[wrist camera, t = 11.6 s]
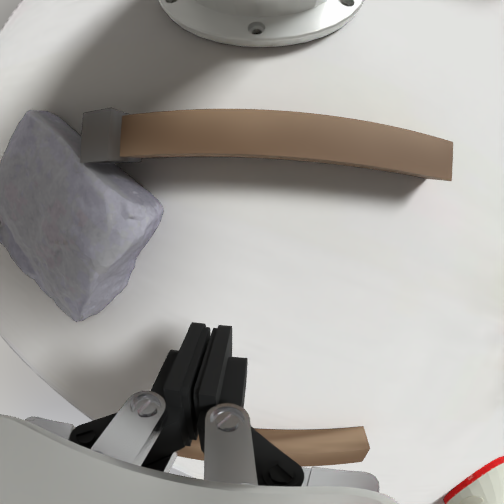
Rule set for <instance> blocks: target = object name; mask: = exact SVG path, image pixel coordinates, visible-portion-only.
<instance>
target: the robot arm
mask: <svg viewBox="0 0 504 504" xmlns="http://www.w3.org/2000/svg"><path fill="white" fill-rule="evenodd" d="M159 2H160V4H161V6H162V8H163V9H164V10H165V12H166V13H167V14H168V16H169V17H170V18H171V19H172V20H173V21H174V22H176V23H177V24H178V25H179V26H181V27H182V28H183V29H185V30H187V31H189V32H191V33H193V34H195V35H197V36H199V37H202V38H206V39H209V40H212V41H215V42H219V43H225V44H231V45H237V46H250V47H273V46H287V45H292V44H298V43H304V42H308V41H311V40H314V39H317V38H321V37H324V36H326V35H328V34H330V33H332V32H334V31H336V30H338V29H340V28H342V27H343V26H344V25H345V24H346V23H348V22H349V21H350V20H351V19H353V17H354V16H355V15H356V13H357V12H358V10H359V9H360V7H361V6H362V4H363V2H364V0H159ZM256 32H258V33H261V34H258V35H255V34H254V33H256ZM246 378H247V358H238V357H232V326H223V325H219V326H218V328H213V330H212V333H211V337H210V328H209V327H206V325H205V324H203V323H193V322H192V323H191V325H190V327H189V330H188V332H187V334H186V336H185V339H184V341H183V343H182V346H181V348H180V350H179V351H176V350H170V352H169V353H168V355H167V358H166V360H165V362H164V364H163V366H162V368H161V370H160V372H159V374H158V376H157V379H156V381H155V383H154V385H153V387H152V389H151V391H141V392H137V393H135V394H133V395H132V396H131V397H130V398H129V399H128V400H127V401H126V402H125V404H124V405H123V406H122V408H121V409H120V410H119V412H118V413H115V414H112V415H109V416H106V417H103V418H100V419H97V420H94V421H91V422H88V423H85V424H82V425H79V426H77V427H74V426H73V425H72V424H67V423H62V422H57V421H52V420H48V419H43V418H39V417H29V418H27V419H25V420H22V419H19V418H16V417H12V416H8V415H1V414H0V504H399V503H398V502H397V501H396V500H395V499H393V498H392V497H390V496H388V495H385V494H382V493H379V481H378V480H377V478H376V477H375V476H374V475H372V474H370V473H367V472H360V471H347V470H336V469H328V468H320V467H313V466H312V468H305V467H301V466H300V465H299V464H298V463H297V462H295V461H294V460H292V459H291V458H290V457H289V456H287V455H286V454H285V453H283V452H282V451H281V450H279V449H278V448H277V447H276V446H274V445H273V444H272V443H271V442H269V441H268V440H267V439H266V438H264V437H263V436H262V435H261V434H260V433H258V432H257V431H256V430H255V429H254V428H252V427H251V425H250V418H249V415H248V413H247V412H246V410H245V409H244V408H243V407H244V398H245V389H246ZM198 434H199V440H200V446H201V451H202V452H203V453H204V480H202V479H196V478H189V477H185V476H180V475H175V474H170V473H169V471H170V469H171V467H172V465H173V463H174V461H175V459H176V458H177V455H178V450H180V449H182V448H185V446H191V442H192V440H197V437H198Z"/></svg>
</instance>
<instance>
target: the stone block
mask: <svg viewBox="0 0 504 504" xmlns="http://www.w3.org/2000/svg"><path fill="white" fill-rule="evenodd" d="M80 157H81V136H80V135H79V134H78V133H77V132H75V131H74V130H73V129H72V128H71V127H70V126H69V125H68V124H66V123H65V122H64V121H63V120H62V119H61V118H59V117H58V116H56V115H54V114H52V113H50V112H48V111H37V110H29V111H27V112H26V113H25V115H24V117H23V118H22V120H21V121H20V122H19V124H18V125H17V127H16V129H15V132H14V133H13V135H12V137H11V139H10V141H9V144H8V147H7V149H6V151H5V153H4V155H3V157H2V160H1V163H0V243H1V244H3V245H4V246H5V247H6V249H7V250H8V252H9V254H10V256H11V258H12V259H13V261H14V262H15V263H16V264H17V266H18V267H19V268H20V269H21V270H22V271H23V272H24V273H25V274H27V275H28V276H29V277H30V278H32V279H34V280H35V281H36V283H37V284H38V285H39V287H40V288H41V289H42V290H43V291H44V292H45V293H46V294H47V295H48V296H49V297H50V298H52V299H53V300H54V301H55V303H56V305H57V306H58V307H59V308H60V309H61V310H62V311H63V312H64V313H66V314H67V315H68V316H69V317H71V318H72V319H73V320H74V321H76V322H78V321H82V320H84V319H86V318H87V317H90V316H92V315H95V314H97V313H98V312H100V311H101V310H102V309H104V308H105V306H106V305H108V304H109V303H110V302H111V301H112V300H113V298H114V297H115V296H116V295H117V294H118V293H120V292H121V291H122V290H123V288H124V287H125V286H127V283H128V280H129V277H130V274H131V272H132V269H134V267H135V260H136V257H137V256H138V254H139V253H140V251H141V250H142V249H143V248H144V247H145V245H146V243H148V241H149V239H150V238H151V236H152V235H153V233H154V232H155V230H156V228H157V227H158V224H159V223H160V221H161V218H162V215H163V206H162V204H161V203H160V202H159V200H158V199H157V198H155V197H154V196H153V195H152V194H151V193H150V192H149V191H147V190H146V189H145V188H144V187H142V186H141V185H140V184H138V183H137V182H136V181H135V180H133V179H132V178H131V177H130V176H129V175H128V174H126V173H125V172H124V171H123V170H121V169H120V168H119V167H118V166H116V165H115V164H114V163H80Z"/></svg>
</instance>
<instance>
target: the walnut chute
mask: <svg viewBox="0 0 504 504" xmlns="http://www.w3.org/2000/svg"><path fill="white" fill-rule="evenodd" d="M155 157H246V158H267V159H283V160H297V161H308V162H319V163H328V164H337V165H346V166H354V167H361V168H368V169H375V170H382V171H388V172H394V173H400V174H405V175H411V176H416V177H421V178H426V179H436V180H446V181H451V180H452V162H453V142H451V141H448V140H444V139H441V138H437V137H434V136H430V135H427V134H423V133H419V132H415V131H411V130H407V129H402V128H398V127H393V126H389V125H384V124H379V123H374V122H368V121H363V120H357V119H350V118H344V117H337V116H329V115H321V114H312V113H302V112H291V111H277V110H257V109H195V110H175V111H162V112H150V113H141V114H132V115H130V114H127V113H124V112H122V111H119V110H116V109H113V108H107V109H101V110H96V111H91V112H86V113H83V124H82V137H81V157H80V163H126V162H141V158H155ZM255 430H256V431H257V432H258V433H260V434H261V435H262V436H263V437H264V438H266V439H267V440H268V441H269V442H271V443H272V444H273V445H274V446H276V447H277V448H278V449H279V450H281V451H282V452H283V453H285V454H286V455H287V456H289V457H290V458H291V459H292V460H294V461H295V462H297V463H298V464H299V465H300V466H323V465H336V464H346V463H355V462H362V461H363V459H364V458H365V456H366V454H367V453H368V451H369V449H370V447H369V443H368V440H367V437H366V433H365V430H364V427H363V426H362V427H351V428H338V429H317V430H275V429H255ZM177 456H180V457H185V458H191V459H197V460H204V453H203V452H202V451H201V446H200V440H199V434H198V437H197V440H192V442H191V446H185V448H182V449H180V450H178V455H177Z"/></svg>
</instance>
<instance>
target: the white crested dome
mask: <svg viewBox="0 0 504 504" xmlns="http://www.w3.org/2000/svg"><path fill="white" fill-rule="evenodd" d="M443 500H444V503H445V504H504V456H503V457H499V458H497V459H495V460H493V461H492V462H490V463H489V464H487V465H485V466H484V467H482V468H481V469H479V470H478V471H476V472H475V473H473V474H472V475H471V476H469V477H468V478H466V479H465V480H464V481H462V482H461V483H460V484H458V485H457V486H456V487H455V488H453V489H452V490H451V491H450V492H449V493H448V494H447V495H446V496H445V497H444V499H443Z"/></svg>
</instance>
